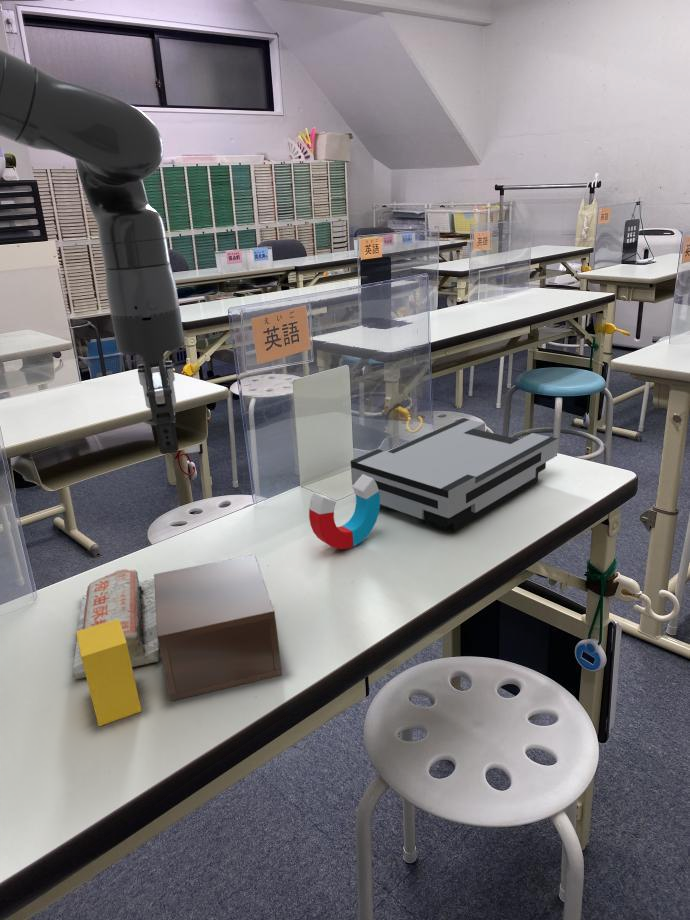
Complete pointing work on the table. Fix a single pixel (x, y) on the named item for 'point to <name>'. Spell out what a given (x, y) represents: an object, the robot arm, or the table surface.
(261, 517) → the table surface
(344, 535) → the magnet
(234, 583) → the cabinet
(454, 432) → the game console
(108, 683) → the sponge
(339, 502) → the table surface
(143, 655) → the packaged product
